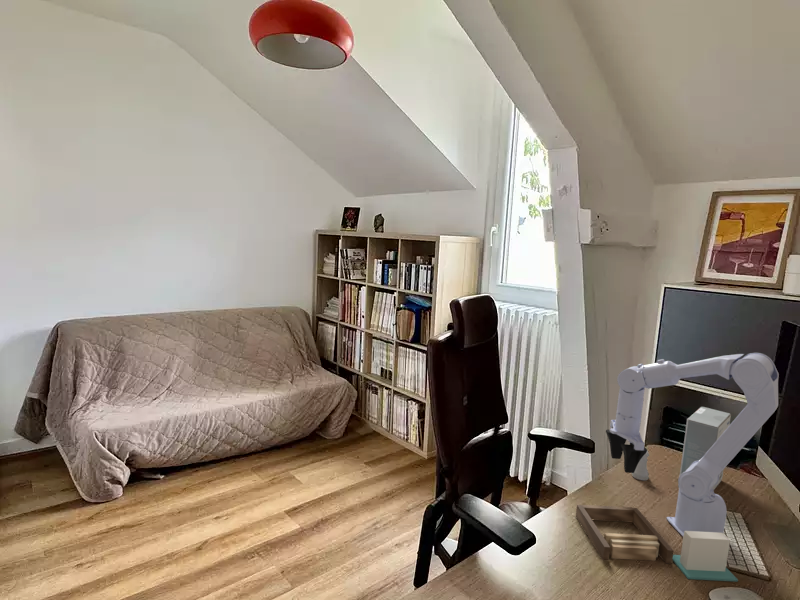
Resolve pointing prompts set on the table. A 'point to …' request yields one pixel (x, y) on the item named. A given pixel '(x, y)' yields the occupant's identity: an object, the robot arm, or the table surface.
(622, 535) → the offcut stack
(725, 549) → the off-white rectangular block
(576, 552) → the table surface
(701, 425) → the hard drive box
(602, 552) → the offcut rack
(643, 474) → the rook chess piece
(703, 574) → the teal mat
